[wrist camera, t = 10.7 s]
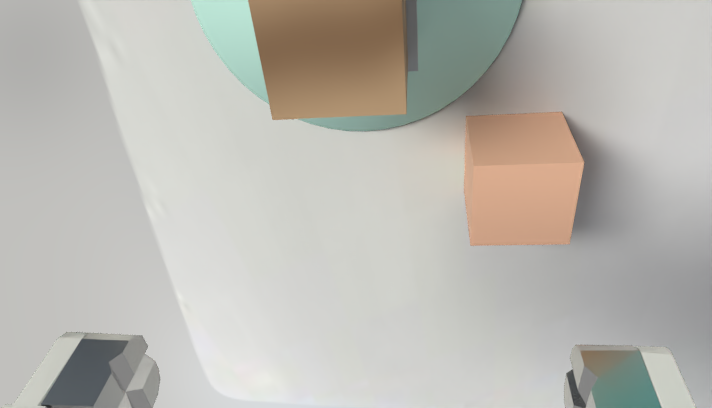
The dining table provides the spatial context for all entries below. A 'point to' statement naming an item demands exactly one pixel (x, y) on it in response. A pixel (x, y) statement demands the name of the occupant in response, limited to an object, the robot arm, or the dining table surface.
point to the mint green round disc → (425, 52)
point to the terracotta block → (521, 179)
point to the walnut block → (332, 56)
